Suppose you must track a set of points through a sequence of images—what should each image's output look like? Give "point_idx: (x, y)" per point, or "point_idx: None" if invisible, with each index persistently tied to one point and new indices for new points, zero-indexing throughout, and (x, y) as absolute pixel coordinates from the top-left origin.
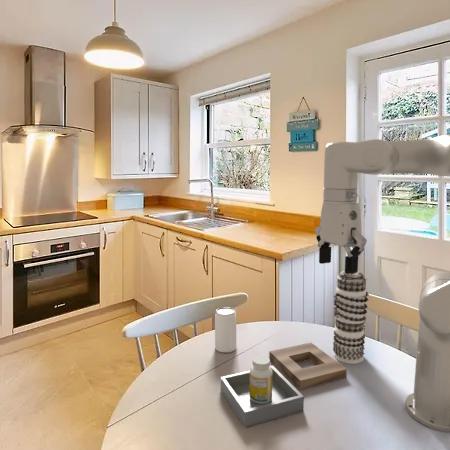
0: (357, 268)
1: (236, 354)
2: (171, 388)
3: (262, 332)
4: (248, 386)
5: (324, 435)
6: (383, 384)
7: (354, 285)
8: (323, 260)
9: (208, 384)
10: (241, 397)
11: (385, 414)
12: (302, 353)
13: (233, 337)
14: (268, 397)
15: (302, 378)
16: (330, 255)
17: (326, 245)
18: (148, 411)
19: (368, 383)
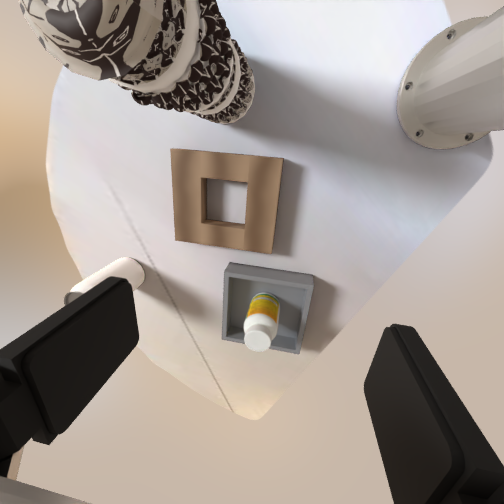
0: (423, 346)
1: (152, 267)
2: (200, 360)
3: (90, 188)
4: (236, 302)
5: (362, 283)
6: (335, 107)
7: (163, 32)
8: (127, 341)
9: (209, 330)
10: None
11: (390, 180)
12: (201, 193)
13: (128, 278)
14: (279, 308)
15: (267, 247)
16: (95, 314)
17: (5, 425)
18: (229, 388)
19: (317, 133)
